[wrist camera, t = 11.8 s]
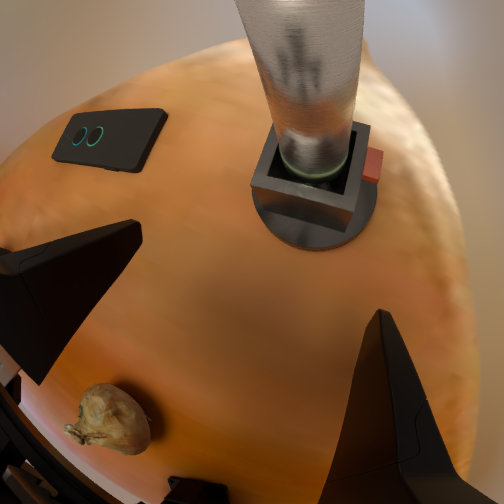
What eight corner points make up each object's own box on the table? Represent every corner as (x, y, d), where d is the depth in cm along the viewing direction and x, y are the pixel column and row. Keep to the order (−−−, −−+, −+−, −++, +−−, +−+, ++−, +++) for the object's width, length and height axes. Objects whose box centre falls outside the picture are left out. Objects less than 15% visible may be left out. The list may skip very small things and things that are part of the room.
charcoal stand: (357, 266, 20) (379, 251, 13) (240, 231, 23) (208, 202, 16) (381, 158, 21) (400, 109, 14) (275, 132, 24) (260, 80, 17)
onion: (154, 455, 21) (110, 489, 13) (99, 412, 23) (50, 431, 15) (175, 408, 21) (124, 441, 14) (113, 363, 23) (55, 376, 16)
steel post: (339, 192, 15) (364, 8, 4) (273, 176, 16) (205, 3, 5) (351, 138, 16) (367, -32, 4) (291, 124, 17) (253, -39, 5)
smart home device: (73, 112, 31) (165, 106, 26) (79, 117, 33) (172, 114, 27) (49, 159, 30) (133, 170, 25) (56, 163, 32) (141, 177, 27)
